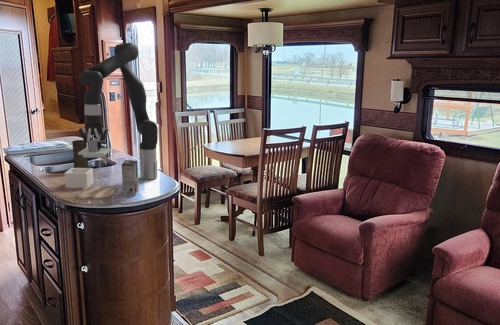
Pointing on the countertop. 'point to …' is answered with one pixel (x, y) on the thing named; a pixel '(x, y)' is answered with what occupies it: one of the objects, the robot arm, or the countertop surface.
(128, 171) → the coffee box
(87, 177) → the bin
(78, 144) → the container
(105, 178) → the countertop surface
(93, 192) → the board
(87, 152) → the lid
